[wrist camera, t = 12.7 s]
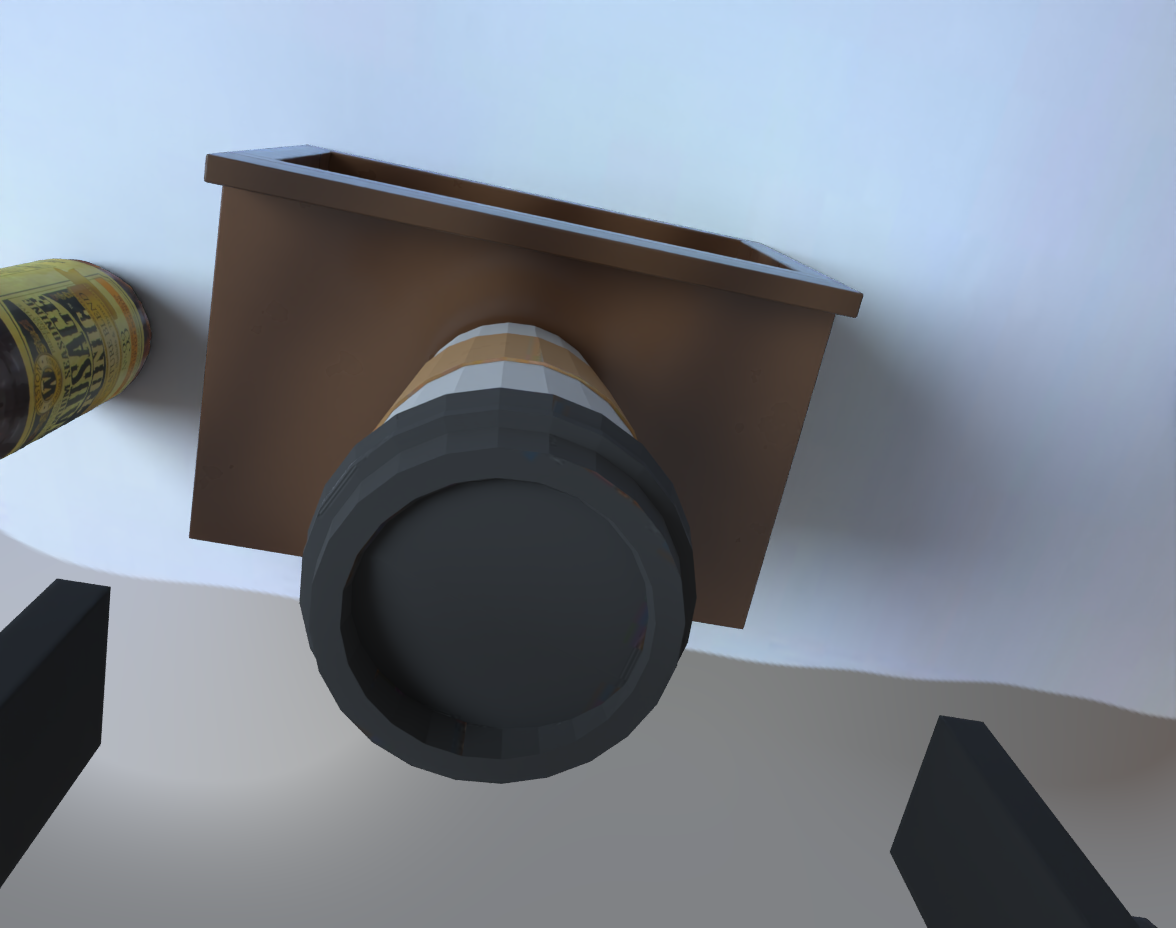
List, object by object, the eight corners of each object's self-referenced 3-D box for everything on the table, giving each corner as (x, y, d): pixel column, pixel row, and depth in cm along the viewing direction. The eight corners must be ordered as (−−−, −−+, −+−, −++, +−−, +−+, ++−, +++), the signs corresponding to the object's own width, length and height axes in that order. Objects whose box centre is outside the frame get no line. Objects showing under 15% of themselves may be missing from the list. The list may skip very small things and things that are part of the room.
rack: (761, 243, 44) (864, 293, 31) (690, 510, 48) (755, 657, 35) (306, 144, 41) (205, 153, 28) (271, 435, 45) (168, 563, 32)
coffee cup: (553, 566, 35) (574, 863, 21) (341, 456, 33) (206, 700, 19) (679, 369, 33) (796, 550, 19) (459, 240, 31) (407, 334, 17)
